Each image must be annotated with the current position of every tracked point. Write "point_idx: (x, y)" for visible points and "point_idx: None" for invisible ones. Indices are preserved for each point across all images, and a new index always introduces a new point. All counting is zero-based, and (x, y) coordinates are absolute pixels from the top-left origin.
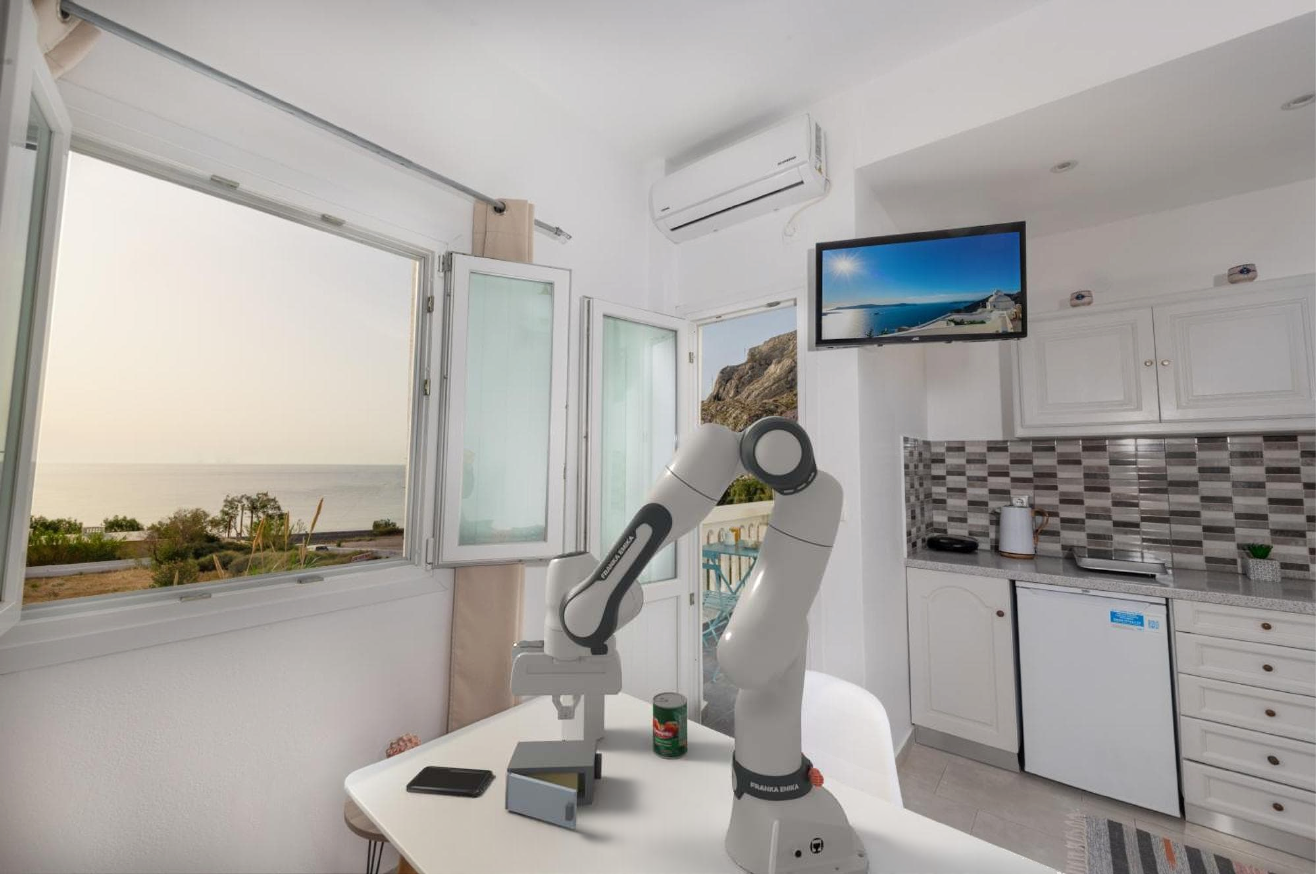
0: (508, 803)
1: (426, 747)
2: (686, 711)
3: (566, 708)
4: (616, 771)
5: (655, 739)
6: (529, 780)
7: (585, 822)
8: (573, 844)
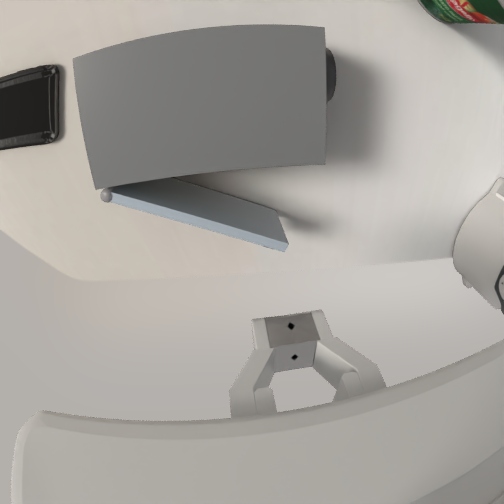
0: None
1: None
2: None
3: (293, 352)
4: (342, 31)
5: None
6: (167, 217)
7: (289, 190)
8: None
